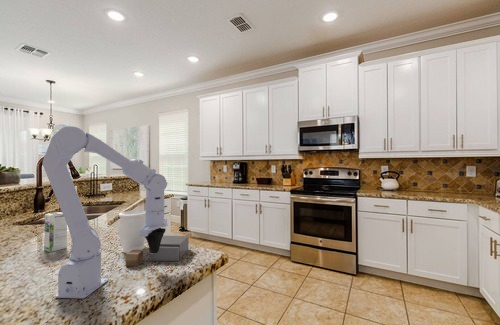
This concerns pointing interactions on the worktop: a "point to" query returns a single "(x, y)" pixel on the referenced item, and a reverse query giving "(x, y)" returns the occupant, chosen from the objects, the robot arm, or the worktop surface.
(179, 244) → the block
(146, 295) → the worktop surface
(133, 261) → the walnut block
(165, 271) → the worktop surface
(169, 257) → the grey drawer
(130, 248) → the jar
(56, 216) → the syrup box
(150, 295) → the worktop surface
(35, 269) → the worktop surface
